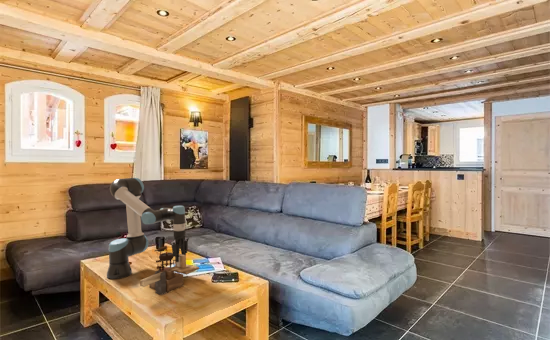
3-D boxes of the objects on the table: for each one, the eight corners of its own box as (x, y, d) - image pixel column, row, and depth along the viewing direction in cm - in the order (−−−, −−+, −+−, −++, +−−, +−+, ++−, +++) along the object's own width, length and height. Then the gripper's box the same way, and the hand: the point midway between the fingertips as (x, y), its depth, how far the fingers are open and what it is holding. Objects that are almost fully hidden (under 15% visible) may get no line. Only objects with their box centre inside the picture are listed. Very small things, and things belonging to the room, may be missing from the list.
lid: (168, 270, 201) (168, 256, 201) (181, 265, 211) (181, 251, 210) (186, 274, 193) (186, 259, 193) (199, 268, 203) (198, 254, 202)
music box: (157, 279, 201) (156, 248, 202) (153, 276, 210) (151, 246, 211) (181, 274, 210) (179, 244, 211) (176, 271, 219) (174, 242, 220)
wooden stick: (140, 285, 171) (140, 280, 171) (161, 277, 183) (161, 272, 183) (143, 286, 169) (143, 281, 169) (164, 278, 181) (164, 272, 181)
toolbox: (144, 289, 186) (143, 269, 186) (165, 280, 199) (165, 261, 199) (162, 295, 178) (162, 273, 177) (183, 285, 191) (182, 265, 191)
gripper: (173, 233, 194) (175, 270, 195) (192, 227, 207) (193, 262, 208) (165, 231, 198) (166, 268, 198) (184, 226, 211) (185, 261, 212)
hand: (180, 265), depth 203 cm, fingers closed on lid, 3 cm apart
